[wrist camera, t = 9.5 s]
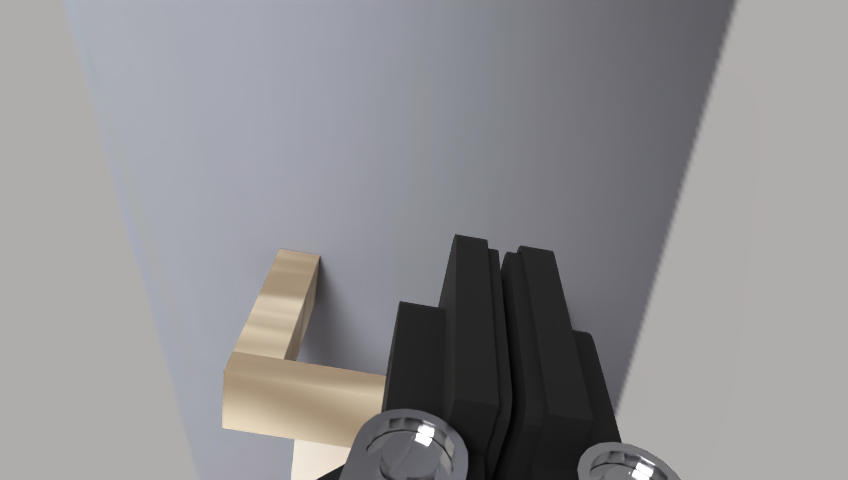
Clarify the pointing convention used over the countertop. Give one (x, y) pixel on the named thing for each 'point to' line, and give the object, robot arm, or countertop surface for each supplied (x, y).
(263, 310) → the bridge
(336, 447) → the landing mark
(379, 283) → the countertop surface
